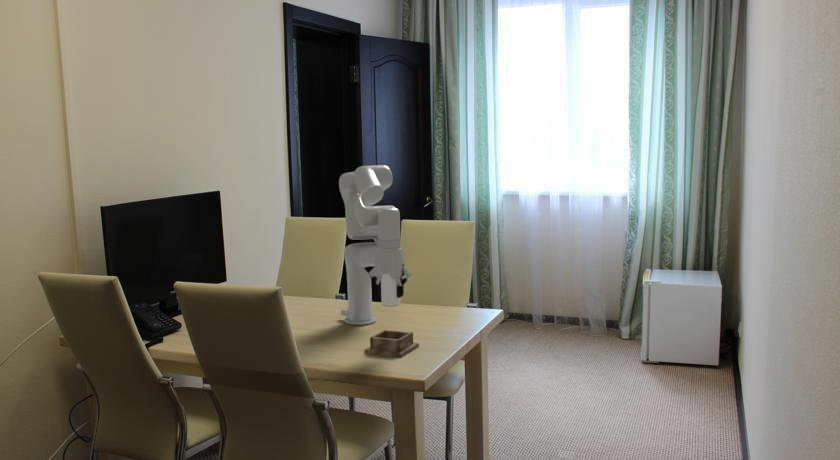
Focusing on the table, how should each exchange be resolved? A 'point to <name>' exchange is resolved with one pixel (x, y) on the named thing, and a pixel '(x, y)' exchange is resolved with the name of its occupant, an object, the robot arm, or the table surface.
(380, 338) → the holder
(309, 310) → the table surface
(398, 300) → the can
